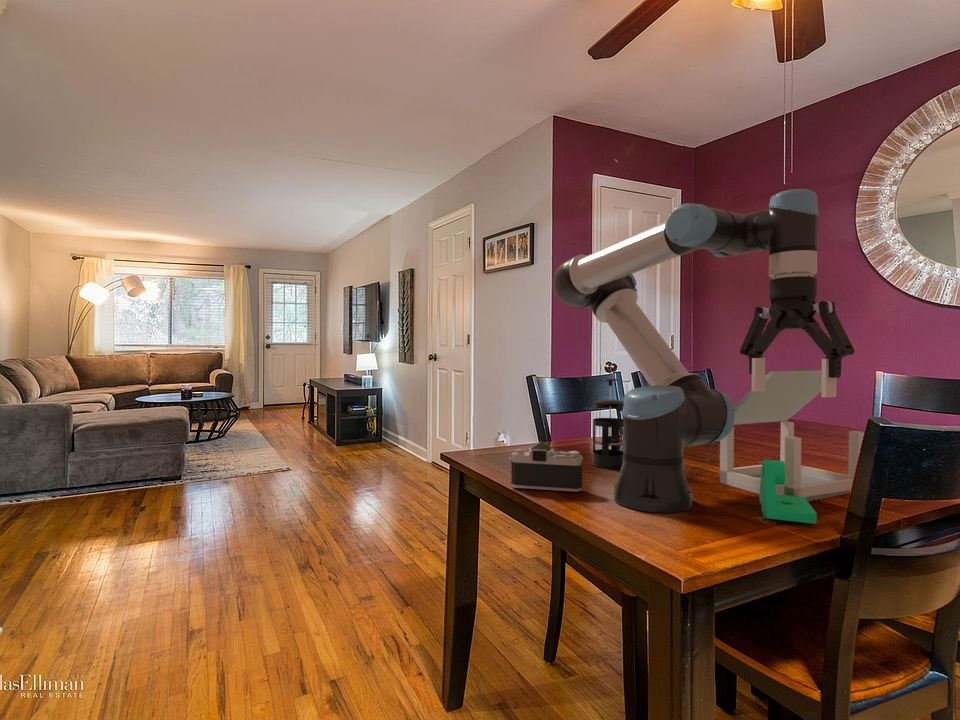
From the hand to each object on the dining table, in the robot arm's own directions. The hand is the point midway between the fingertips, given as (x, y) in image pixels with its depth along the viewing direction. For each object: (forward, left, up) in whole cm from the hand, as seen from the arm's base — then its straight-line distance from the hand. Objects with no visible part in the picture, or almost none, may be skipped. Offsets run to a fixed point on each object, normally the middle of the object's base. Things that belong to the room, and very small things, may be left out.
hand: (791, 394), depth 94 cm
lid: (+19, +23, -9) cm, 31 cm away
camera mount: (0, 0, -23) cm, 23 cm away
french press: (-4, +48, -23) cm, 54 cm away
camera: (-30, +36, -23) cm, 52 cm away
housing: (+19, +14, -22) cm, 33 cm away
